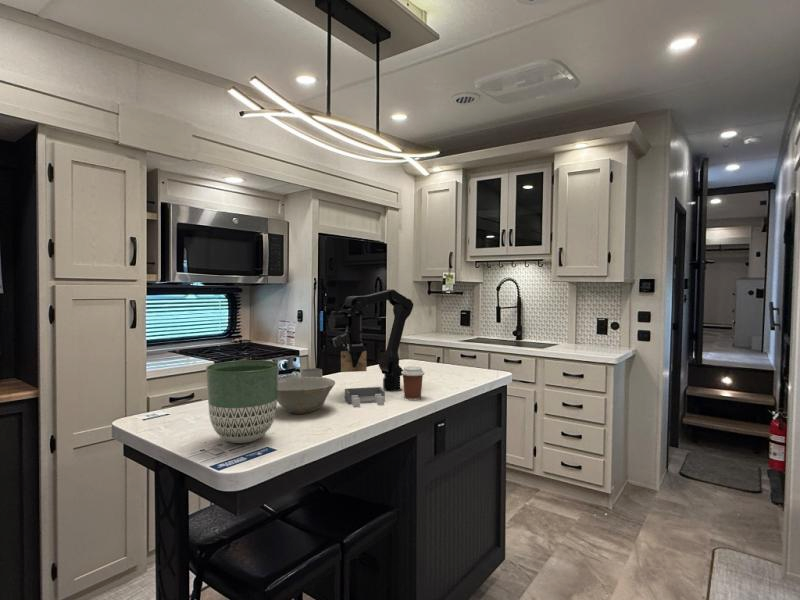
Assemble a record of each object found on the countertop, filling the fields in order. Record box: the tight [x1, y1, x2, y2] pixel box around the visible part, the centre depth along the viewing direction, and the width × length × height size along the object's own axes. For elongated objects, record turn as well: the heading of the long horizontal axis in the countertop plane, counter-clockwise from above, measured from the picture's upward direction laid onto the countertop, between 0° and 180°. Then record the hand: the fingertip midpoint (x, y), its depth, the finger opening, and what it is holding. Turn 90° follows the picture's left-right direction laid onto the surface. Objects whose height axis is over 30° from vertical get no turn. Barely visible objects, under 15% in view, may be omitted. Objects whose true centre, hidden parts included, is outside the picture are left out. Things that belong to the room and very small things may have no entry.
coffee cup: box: [401, 365, 425, 401], centre depth 184 cm, size 9×9×12 cm
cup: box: [300, 367, 323, 378], centre depth 189 cm, size 8×8×10 cm
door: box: [340, 350, 368, 373], centre depth 187 cm, size 10×3×8 cm, turn 104°
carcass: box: [344, 386, 386, 408], centre depth 178 cm, size 14×12×4 cm
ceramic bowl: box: [277, 376, 336, 415], centre depth 165 cm, size 22×23×10 cm
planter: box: [205, 359, 280, 444], centre depth 133 cm, size 20×20×21 cm
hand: (353, 366), depth 187 cm, fingers closed on door, 2 cm apart
